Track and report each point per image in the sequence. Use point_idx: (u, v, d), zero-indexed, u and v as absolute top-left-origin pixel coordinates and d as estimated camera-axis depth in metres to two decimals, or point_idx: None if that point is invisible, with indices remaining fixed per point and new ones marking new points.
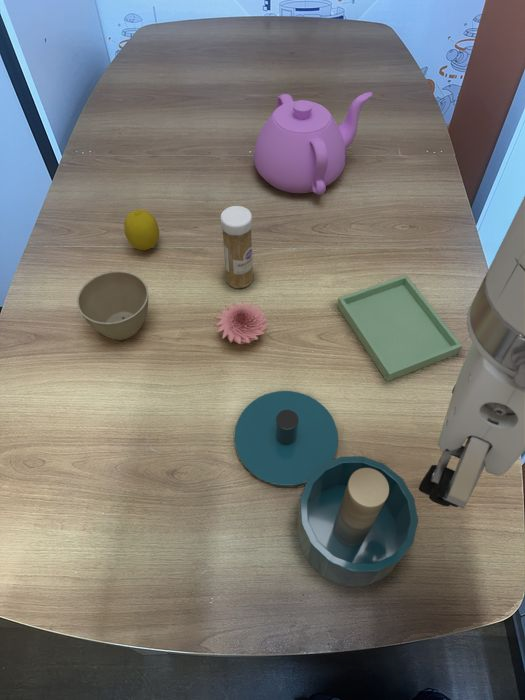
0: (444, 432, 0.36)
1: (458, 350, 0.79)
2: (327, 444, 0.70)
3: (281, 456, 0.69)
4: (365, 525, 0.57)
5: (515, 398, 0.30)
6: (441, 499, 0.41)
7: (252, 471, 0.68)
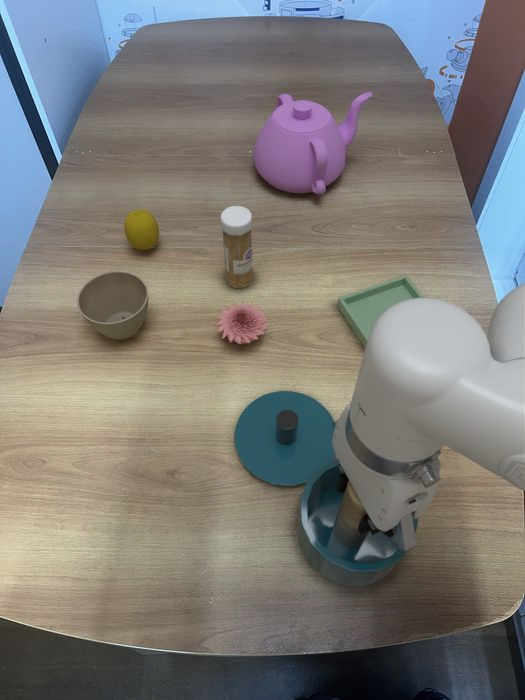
0: (382, 523, 0.46)
1: None
2: (327, 444, 0.70)
3: (281, 456, 0.69)
4: None
5: (422, 486, 0.42)
6: None
7: (252, 471, 0.68)
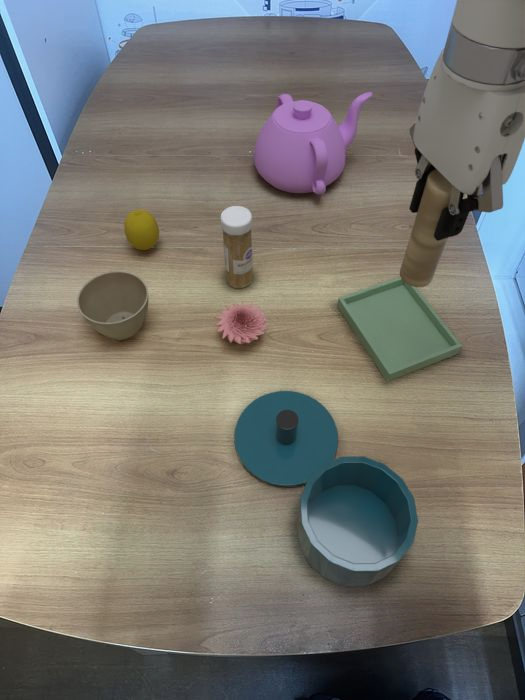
0: (472, 174, 0.48)
1: (458, 350, 0.79)
2: (327, 444, 0.70)
3: (281, 456, 0.69)
4: None
5: (521, 101, 0.43)
6: (456, 229, 0.56)
7: (252, 471, 0.68)
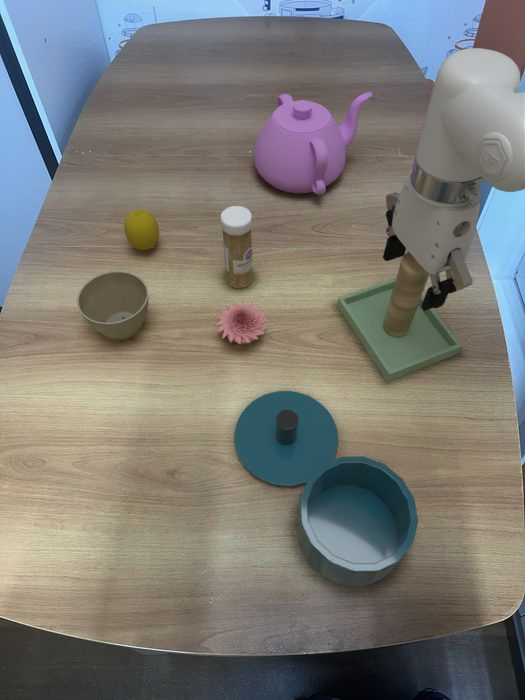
0: (434, 261, 0.63)
1: (458, 350, 0.79)
2: (327, 444, 0.70)
3: (281, 456, 0.69)
4: (412, 302, 0.74)
5: (467, 214, 0.58)
6: (439, 303, 0.69)
7: (252, 471, 0.68)
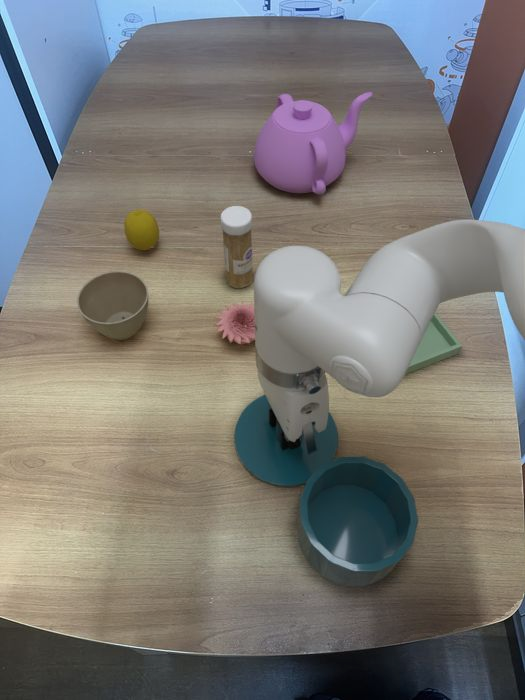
0: (289, 433, 0.59)
1: (458, 350, 0.79)
2: (327, 444, 0.70)
3: (281, 456, 0.69)
4: None
5: (312, 397, 0.55)
6: (296, 444, 0.68)
7: (252, 471, 0.68)
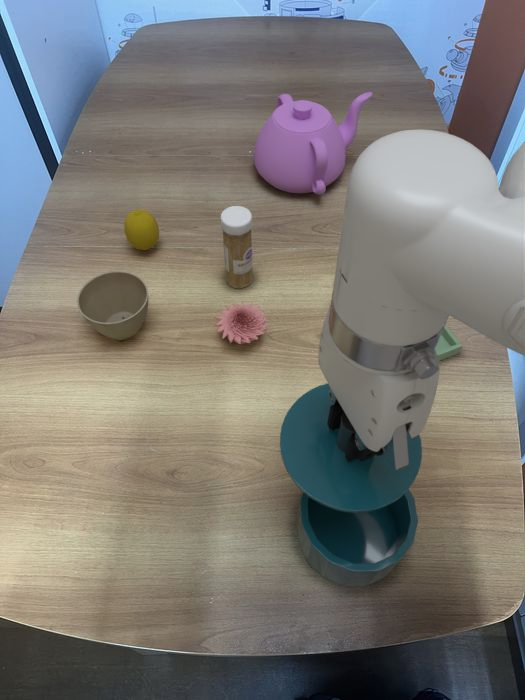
0: (373, 439, 0.40)
1: (458, 350, 0.79)
2: None
3: (345, 470, 0.50)
4: None
5: (418, 384, 0.36)
6: (368, 454, 0.49)
7: (307, 491, 0.49)
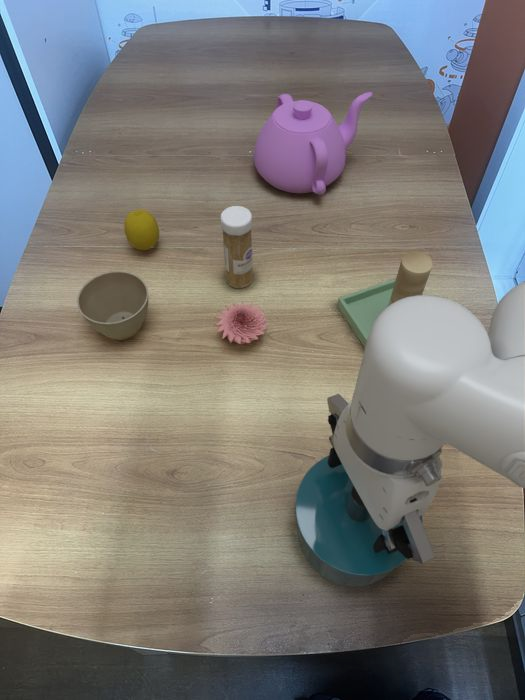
0: (383, 523, 0.46)
1: None
2: None
3: (355, 536, 0.57)
4: None
5: (423, 485, 0.42)
6: (396, 548, 0.52)
7: (321, 556, 0.55)
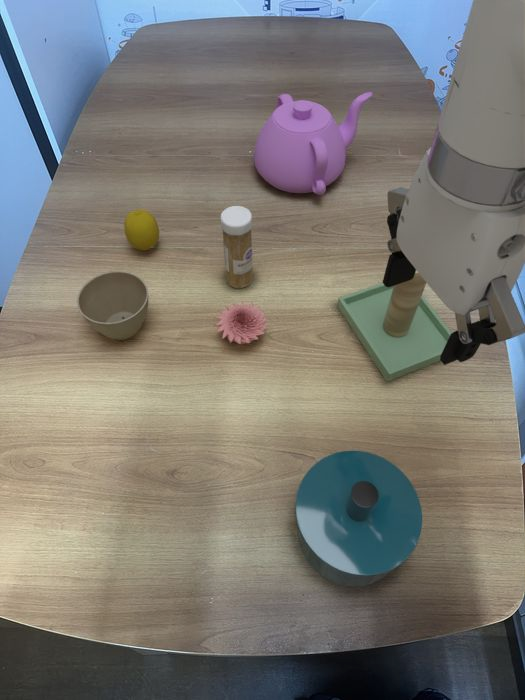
0: (464, 296, 0.40)
1: None
2: (409, 520, 0.58)
3: (355, 536, 0.57)
4: (412, 302, 0.74)
5: (522, 222, 0.35)
6: (468, 354, 0.46)
7: (321, 556, 0.55)
